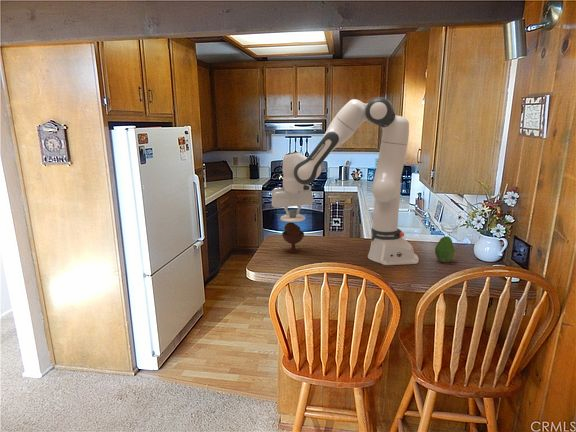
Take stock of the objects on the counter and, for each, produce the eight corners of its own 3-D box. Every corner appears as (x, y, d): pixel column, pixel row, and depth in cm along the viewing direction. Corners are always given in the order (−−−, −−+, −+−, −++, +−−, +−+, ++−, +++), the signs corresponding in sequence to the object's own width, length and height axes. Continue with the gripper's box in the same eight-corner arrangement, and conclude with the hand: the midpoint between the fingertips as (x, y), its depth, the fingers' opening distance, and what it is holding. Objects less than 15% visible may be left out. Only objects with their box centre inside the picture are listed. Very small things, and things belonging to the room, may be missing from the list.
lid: (306, 215, 184) (306, 208, 183) (304, 222, 172) (303, 213, 171) (282, 215, 186) (282, 207, 185) (278, 221, 174) (278, 213, 173)
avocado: (453, 260, 167) (455, 234, 164) (453, 266, 160) (455, 239, 157) (434, 257, 171) (436, 233, 168) (433, 263, 164) (435, 238, 161)
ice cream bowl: (302, 255, 177) (302, 225, 173) (280, 254, 179) (279, 224, 175) (306, 248, 187) (305, 219, 183) (284, 247, 189) (283, 219, 186)
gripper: (273, 189, 169) (274, 218, 172) (314, 186, 175) (314, 214, 179) (269, 187, 175) (270, 215, 178) (309, 184, 181) (309, 211, 184)
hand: (292, 214), depth 178 cm, fingers closed on lid, 3 cm apart
